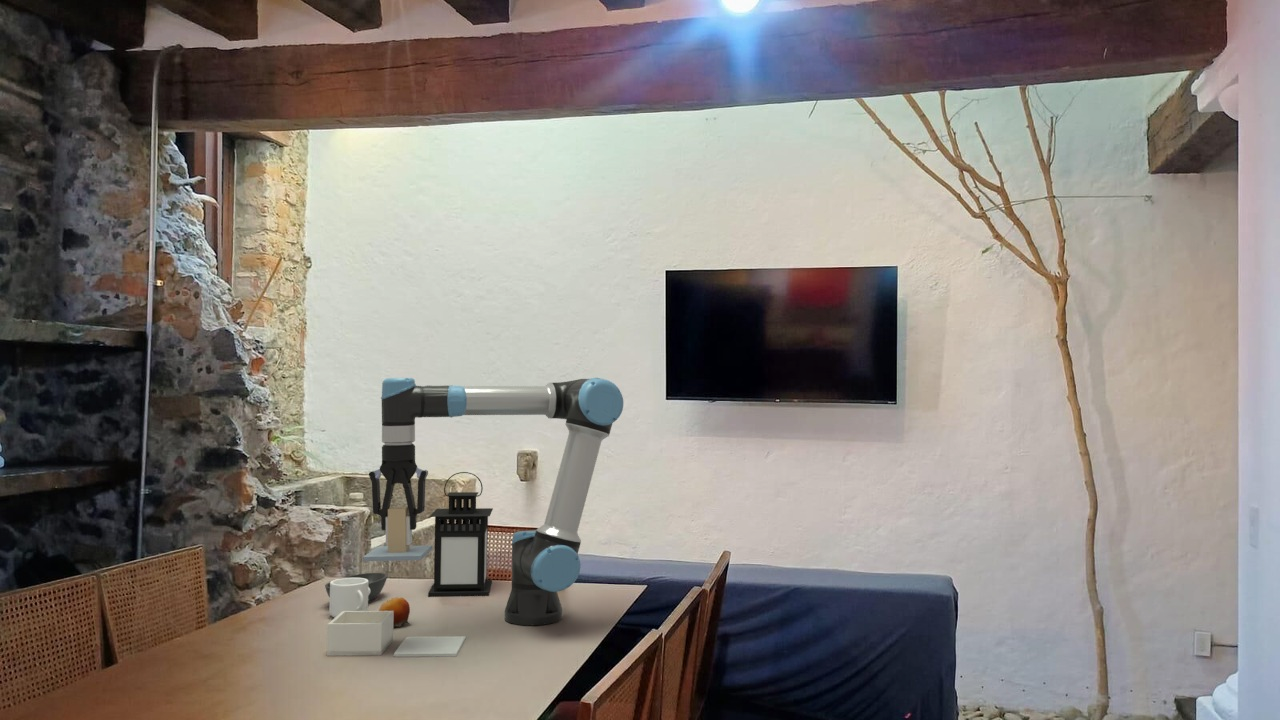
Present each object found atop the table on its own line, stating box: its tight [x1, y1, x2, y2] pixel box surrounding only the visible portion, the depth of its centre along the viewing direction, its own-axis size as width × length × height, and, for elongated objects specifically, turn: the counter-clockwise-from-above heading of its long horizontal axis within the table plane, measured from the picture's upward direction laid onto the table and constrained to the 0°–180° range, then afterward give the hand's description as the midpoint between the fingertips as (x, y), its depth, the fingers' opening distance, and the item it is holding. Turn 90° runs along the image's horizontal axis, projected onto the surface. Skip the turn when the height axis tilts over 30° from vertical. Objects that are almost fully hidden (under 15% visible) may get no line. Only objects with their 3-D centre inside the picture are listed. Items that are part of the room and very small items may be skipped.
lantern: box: [427, 471, 494, 598], centre depth 265 cm, size 17×17×35 cm
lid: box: [362, 506, 434, 562], centre depth 205 cm, size 13×13×11 cm
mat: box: [393, 635, 467, 658], centre depth 204 cm, size 14×14×1 cm
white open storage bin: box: [326, 610, 394, 657], centre depth 204 cm, size 12×12×7 cm
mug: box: [328, 577, 371, 619], centre depth 232 cm, size 12×10×9 cm
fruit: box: [378, 596, 411, 628], centre depth 224 cm, size 8×8×8 cm
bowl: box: [324, 572, 389, 604], centre depth 248 cm, size 12×22×6 cm, turn 160°
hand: (399, 543), depth 205 cm, fingers closed on lid, 4 cm apart
